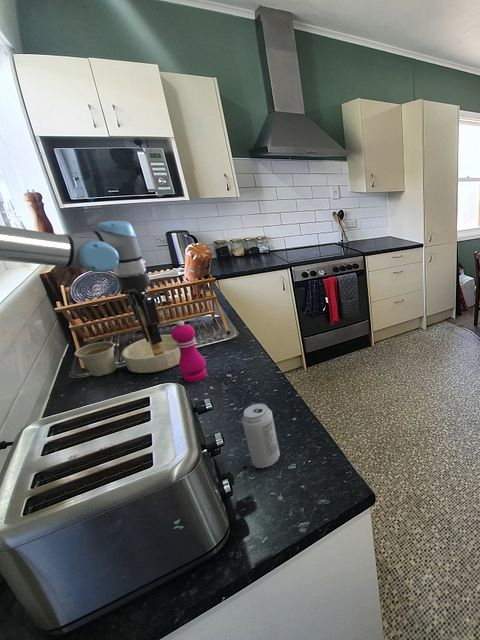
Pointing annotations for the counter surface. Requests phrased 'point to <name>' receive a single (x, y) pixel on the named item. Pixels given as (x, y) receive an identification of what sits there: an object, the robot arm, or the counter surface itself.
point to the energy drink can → (260, 435)
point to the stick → (155, 348)
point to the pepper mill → (189, 353)
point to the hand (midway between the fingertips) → (154, 341)
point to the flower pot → (98, 358)
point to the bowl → (151, 356)
